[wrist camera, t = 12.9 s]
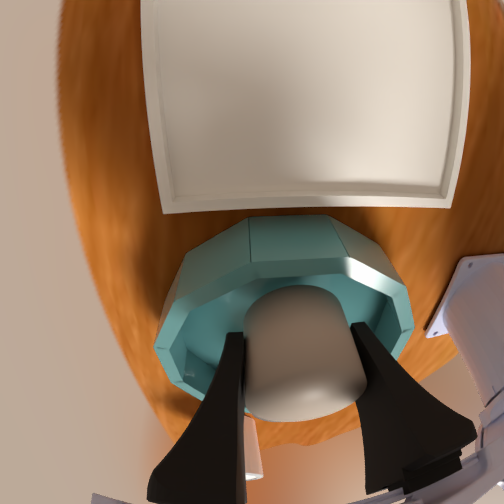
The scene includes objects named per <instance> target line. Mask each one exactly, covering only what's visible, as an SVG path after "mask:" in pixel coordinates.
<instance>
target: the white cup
mask: <svg viewBox="0 0 504 504" xmlns="http://www.w3.org/2000/svg"><path fill="white" fill-rule="evenodd" d="M244 454H245V475H246V481H248V480H255V479H259V478H262V477H263V470H262V464H261V458H260V451H259V445H258V439H257V432H256V426H255V421H254V420H253V419H252V418H250V417H247V416H244Z"/></svg>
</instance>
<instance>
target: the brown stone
mask: <svg viewBox="0 0 504 504" xmlns="http://www.w3.org/2000/svg"><path fill="white" fill-rule="evenodd" d="M243 328H244V359H245V360H244V372H245V405H246V408H247V409H248V411H249V412H250V413H252V414H253V415H255V416H257V417H259V418H262V419H266V420H271V421H279V422H296V421H305V420H311V419H315V418H319V417H323V416H326V415H329V414H332V413H334V412H337V411H339V410H341V409H343V408H345V407H347V406H348V405H350V404H352V403H353V402H354V401H356V400H357V399H358V398H359V397H360V396H361V395H362V394H363V392H364V391H365V389H366V387H367V379H366V376H365V372H364V369H363V366H362V363H361V360H360V357H359V354H358V351H357V348H356V345H355V342H354V339H353V336H352V334H351V331H350V328H349V325H348V322H347V320H346V317H345V314H344V311H343V309H342V306H341V303H340V301H339V300H338V298H337V297H336V296H335V295H334V294H333V293H331V292H330V291H328V290H326V289H324V288H321V287H318V286H313V285H291V286H286V287H282V288H279V289H275V290H273V291H271V292H268V293H267V294H265V295H263V296H261V297H260V298H259V299H257V300H256V301H255V302H254V303H253V304H252V305H251V306H250V307H249V309H248V310H247V312H246V314H245V317H244V321H243Z"/></svg>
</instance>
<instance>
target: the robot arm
mask: <svg viewBox="0 0 504 504" xmlns="http://www.w3.org/2000/svg"><path fill="white" fill-rule="evenodd" d="M350 331H351V334H352V336H353V339H354V342H355V345H356V348H357V351H358V354H359V357H360V360H361V363H362V366H363V369H364V372H365V376H366V379H367V387H366V389H365V391H364V392H363V394H362V395H361V396H360V397H359V398H358V399H357V400H356V401H355V402H356V406H357V409H358V413H359V417H360V423H361V429H362V436H363V445H364V456H365V489H366V494H367V495H369V494H372V493H375V492H379V491H382V490H385V489H388V490H389V492H387V493H384V494H381V495H378V496H374V497H371V498H368V499H364V500H360V501H357V502H353V503H348V504H391V503H393V502H396V501H399V500H402V499H404V498H406V500H405V502H404V503H401V504H473V503H474V502H476V501H477V500H478V499H479V498H481V497H482V496H483V495H484V494H486V493H487V492H488V491H489V490H490V489H492V488H493V487H494V486H496V485H499V486H500V487H502V489H503V490H504V253H501V254H491V255H480V256H469V257H463V258H462V259H461V260H460V261H459V263H458V265H457V268H456V270H455V273H454V275H453V277H452V279H451V282H450V284H449V286H448V288H447V290H446V293H445V295H444V297H443V299H442V301H441V303H440V305H439V307H438V309H437V311H436V313H435V315H434V317H433V318H432V320H431V322H430V324H429V326H428V328H427V329H426V331H425V336H426V338H431V337H435V336H439V335H443V334H447V333H449V335H450V336H451V338H452V340H453V342H454V344H455V346H456V347H457V349H458V351H459V353H460V355H461V357H462V359H463V361H464V363H465V365H466V367H467V369H468V371H469V373H470V375H471V377H472V379H473V382H474V384H475V386H476V388H477V390H478V393H479V395H480V397H481V399H482V402H483V404H484V407H485V408H486V409H485V410H483V411H482V412H481V413H480V414H479V417H480V420H481V425H480V426H479V429H478V431H477V432H476V429H475V427H474V424H473V422H472V421H471V420H469V419H468V418H466V417H464V416H462V415H460V414H458V413H457V412H455V411H453V410H452V409H450V408H449V407H447V406H446V405H444V404H443V403H441V402H440V401H439V400H437V399H436V398H435V397H434V396H432V395H431V394H430V393H429V392H427V391H426V390H425V389H424V388H423V387H421V385H419V384H418V383H417V382H416V381H415V380H414V379H413V378H412V377H411V376H410V375H409V374H408V373H407V372H406V371H405V370H404V369H403V368H402V366H401V365H400V364H399V363H398V362H397V361H396V360H395V359H394V357H393V356H392V355H391V354H390V353H389V351H388V350H387V349H386V348H385V347H384V345H383V344H382V343H381V342H380V340H379V339H378V338H377V337H376V335H375V334H374V333H373V332H372V330H371V329H370V328H369V326H368V325H367V324H366V323H365V322H364V321H363V322H355V323H351V326H350ZM244 360H245V359H244V334H243V332H228V333H227V334H226V339H225V343H224V347H223V351H222V354H221V358H220V361H219V364H218V366H217V369H216V372H215V374H214V377H213V379H212V382H211V384H210V386H209V388H208V390H207V393H206V395H205V397H204V399H203V401H202V403H201V405H200V406H199V408H198V410H197V412H196V414H195V415H194V417H193V419H192V420H191V422H190V423H189V425H188V427H187V428H186V430H185V431H184V433H183V434H182V436H181V437H180V438H179V440H178V441H177V442H176V444H175V445H174V446H173V448H172V449H171V450H170V452H169V453H168V454H167V455H166V456H165V457H164V459H163V460H162V461H161V462H160V463H159V464H158V465H157V466H156V468H155V469H154V470H153V472H152V474H151V476H150V479H149V483H148V488H147V500H148V501H149V502H153V503H157V504H246V503H247V493H246V475H245V454H244V412H245V372H244ZM475 439H476V442H475V453H473V454H472V455H470V456H468V457H466V458H465V459H463V460H461V461H460V458H459V456H461V455H462V452H461V449H462V448H463V447H465V446H466V445H468V444H470V443H471V442H472V441H474V440H475ZM91 504H131V503H127V502H123V501H119V500H115V499H112V498H108V497H105V496H102V495H98V494H95V493H93V494H92V501H91Z"/></svg>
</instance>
